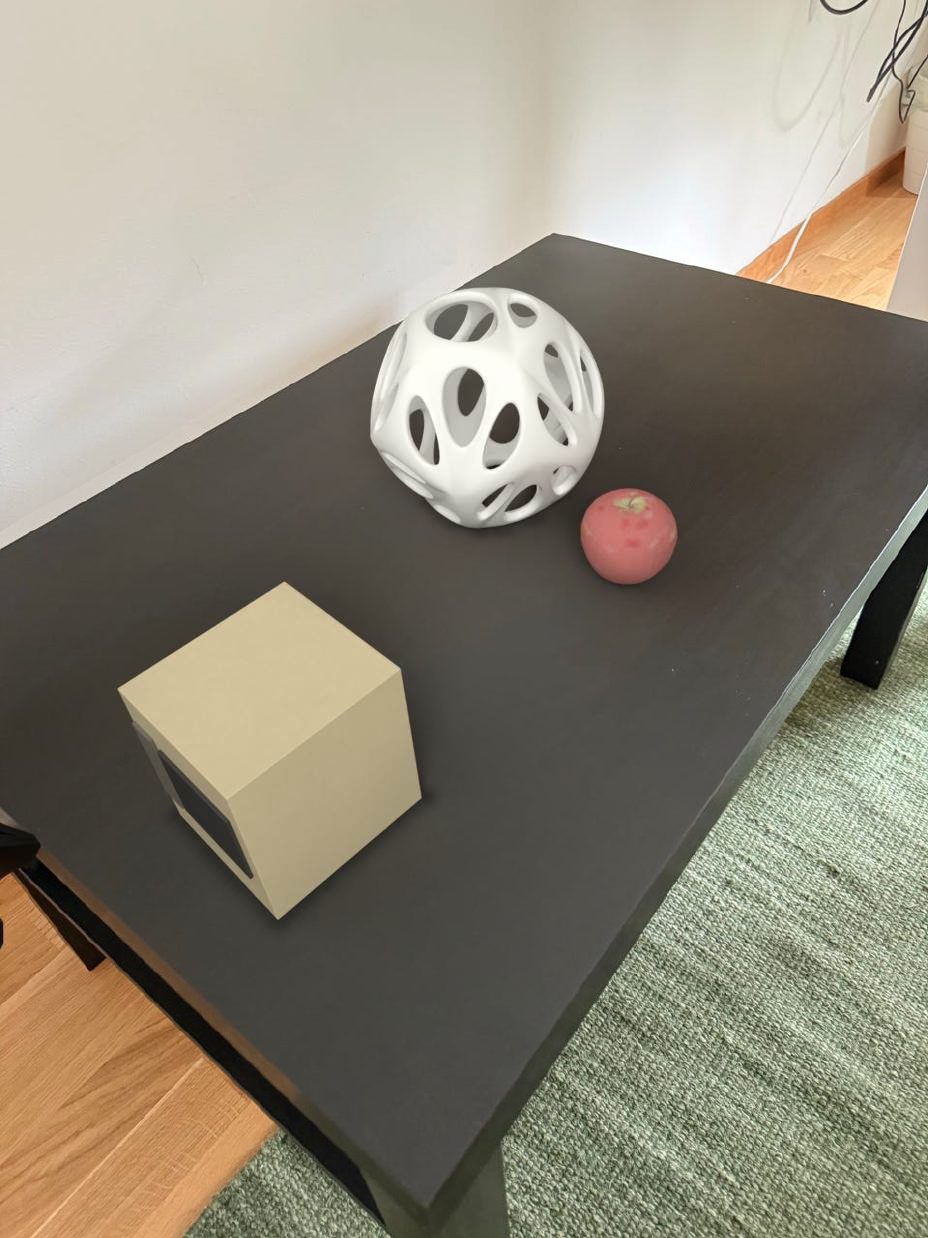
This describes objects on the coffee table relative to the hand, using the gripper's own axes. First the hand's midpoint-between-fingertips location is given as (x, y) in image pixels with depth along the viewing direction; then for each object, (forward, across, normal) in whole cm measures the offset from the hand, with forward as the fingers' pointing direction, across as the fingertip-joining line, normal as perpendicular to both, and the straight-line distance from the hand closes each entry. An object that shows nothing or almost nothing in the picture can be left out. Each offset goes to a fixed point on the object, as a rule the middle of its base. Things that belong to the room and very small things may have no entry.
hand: (34, 848), depth 47 cm
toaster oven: (+18, 0, -3) cm, 19 cm away
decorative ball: (+40, +14, -28) cm, 51 cm away
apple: (+40, -2, -27) cm, 48 cm away
